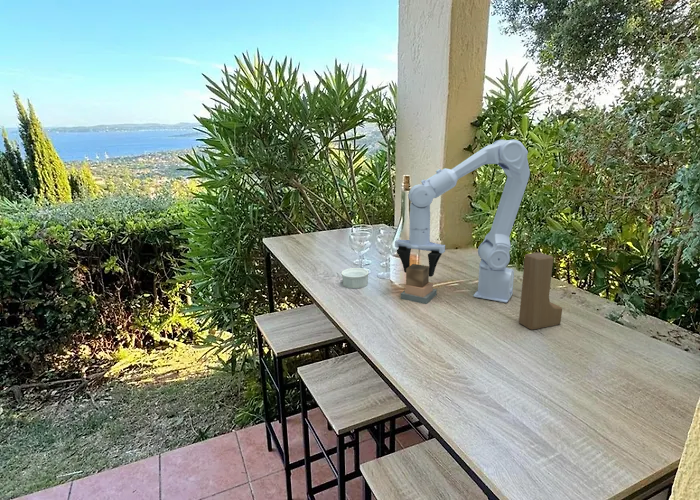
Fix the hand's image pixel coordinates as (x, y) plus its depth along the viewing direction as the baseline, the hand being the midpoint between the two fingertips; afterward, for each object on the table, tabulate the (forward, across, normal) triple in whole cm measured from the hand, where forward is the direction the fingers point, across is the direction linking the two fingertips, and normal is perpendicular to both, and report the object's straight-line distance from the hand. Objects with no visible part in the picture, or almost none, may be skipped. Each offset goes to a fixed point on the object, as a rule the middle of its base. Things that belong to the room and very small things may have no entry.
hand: (418, 273), depth 115 cm
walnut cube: (+3, 0, 0) cm, 3 cm away
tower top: (+6, 0, 0) cm, 6 cm away
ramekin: (+8, -22, 0) cm, 23 cm away
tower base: (+8, 0, 0) cm, 8 cm away
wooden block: (+7, +33, -2) cm, 34 cm away
